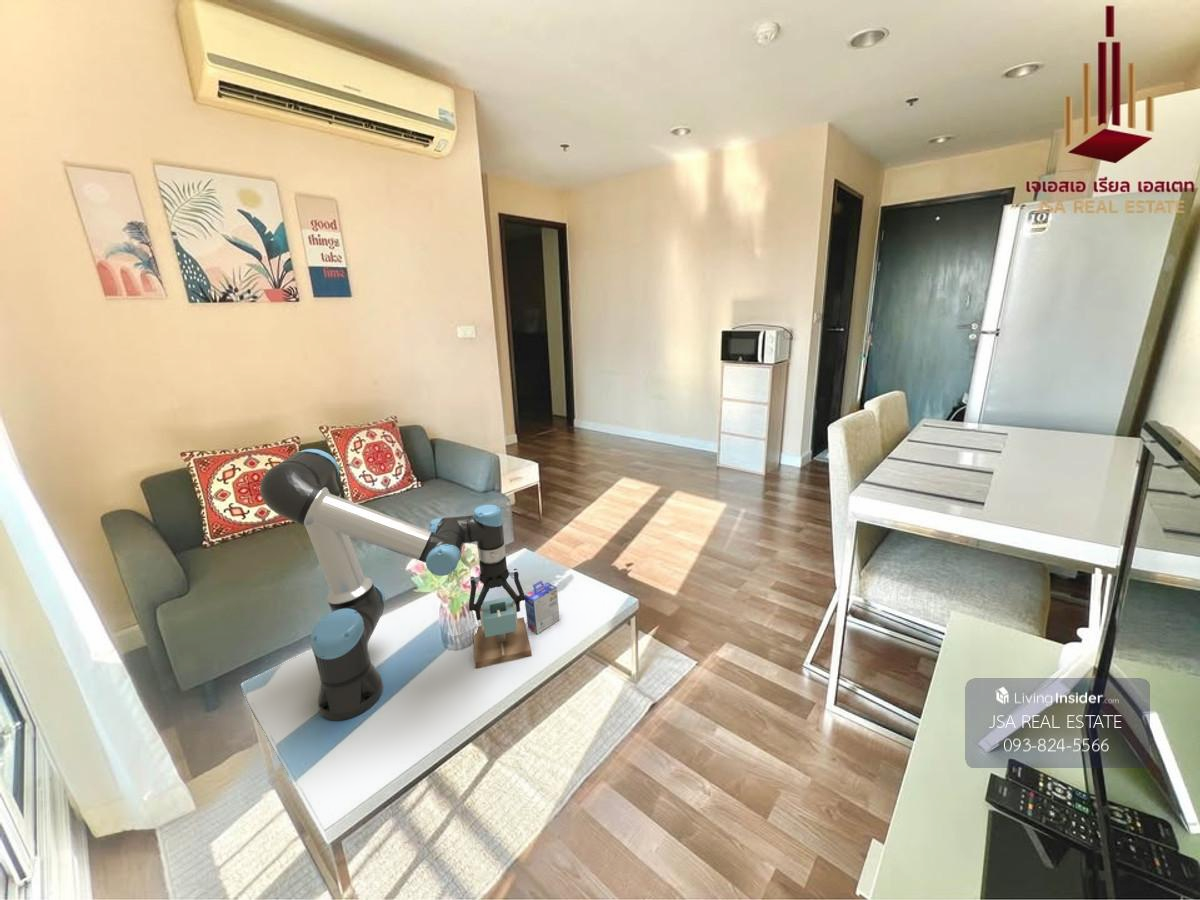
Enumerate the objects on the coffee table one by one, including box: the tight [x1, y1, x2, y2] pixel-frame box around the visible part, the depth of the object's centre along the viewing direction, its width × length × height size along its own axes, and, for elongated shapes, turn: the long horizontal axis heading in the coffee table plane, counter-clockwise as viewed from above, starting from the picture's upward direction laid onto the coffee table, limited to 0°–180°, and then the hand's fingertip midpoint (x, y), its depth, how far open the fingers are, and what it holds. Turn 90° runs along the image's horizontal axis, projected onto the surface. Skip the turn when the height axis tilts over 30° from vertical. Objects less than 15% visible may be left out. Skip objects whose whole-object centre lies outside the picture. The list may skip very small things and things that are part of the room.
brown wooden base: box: [473, 616, 533, 669], centre depth 140 cm, size 16×16×8 cm
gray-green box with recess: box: [482, 596, 517, 638], centre depth 138 cm, size 9×9×6 cm
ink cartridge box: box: [524, 580, 560, 635], centre depth 148 cm, size 10×6×14 cm, turn 137°
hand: (499, 624), depth 139 cm, fingers closed on gray-green box with recess, 9 cm apart
